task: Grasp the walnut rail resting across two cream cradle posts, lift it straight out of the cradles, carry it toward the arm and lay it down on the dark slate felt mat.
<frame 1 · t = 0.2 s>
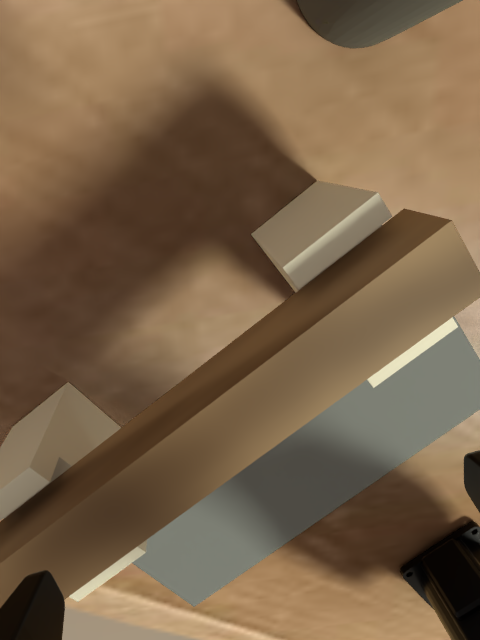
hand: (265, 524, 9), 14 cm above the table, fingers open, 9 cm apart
mat: (302, 463, 26), on the table
post 2: (85, 441, 24), on the table
post 1: (319, 258, 22), on the table
rail: (203, 405, 18), point 5 cm above the table, touching post 2, post 1
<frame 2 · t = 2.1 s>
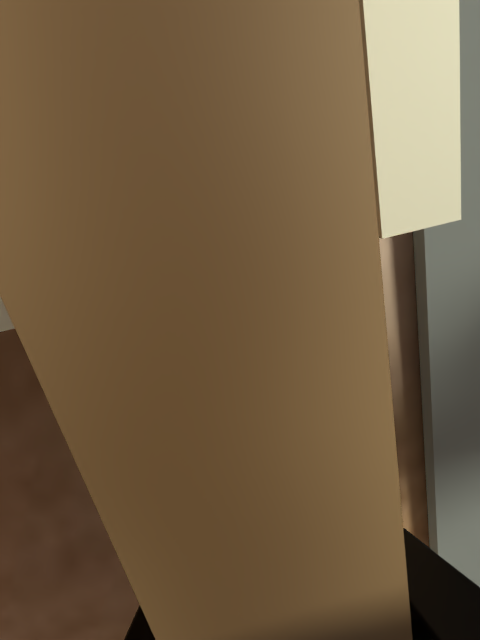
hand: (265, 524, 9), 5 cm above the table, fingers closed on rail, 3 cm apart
post 1: (166, 129, 10), on the table
rail: (269, 539, 9), point 5 cm above the table, touching gripper, post 2, post 1
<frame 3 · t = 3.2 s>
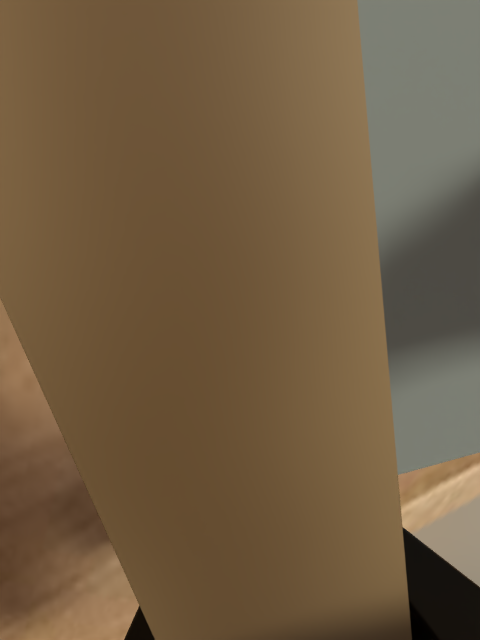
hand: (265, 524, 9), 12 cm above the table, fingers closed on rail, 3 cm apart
mat: (413, 268, 21), on the table
rail: (268, 539, 9), point 13 cm above the table, touching gripper
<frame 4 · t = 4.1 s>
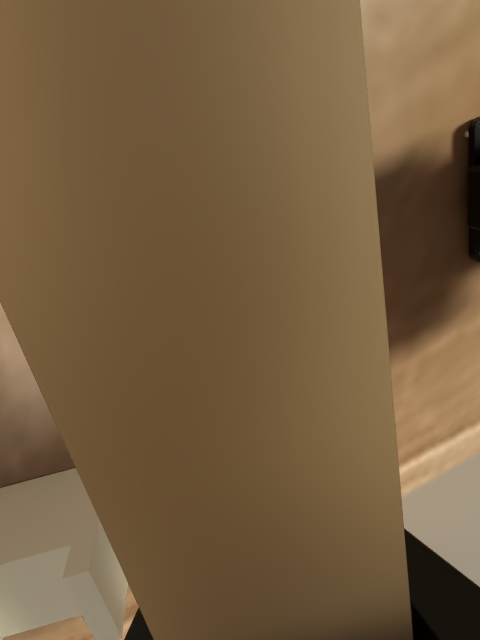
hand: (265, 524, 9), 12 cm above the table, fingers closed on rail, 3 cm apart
post 2: (64, 503, 23), on the table
rail: (269, 541, 9), point 13 cm above the table, touching gripper
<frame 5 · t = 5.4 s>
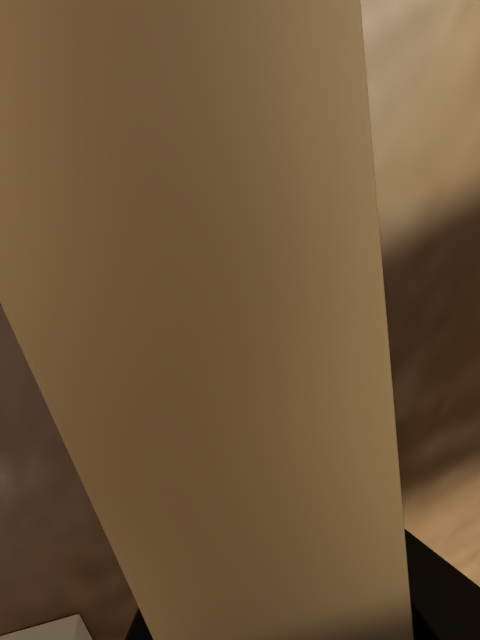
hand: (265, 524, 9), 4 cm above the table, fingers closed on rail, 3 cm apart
rail: (269, 541, 9), point 4 cm above the table, touching gripper
when the fingers open (1 cm above the table, at t = 6.6 s): rail drops 1 cm, resting on mat.
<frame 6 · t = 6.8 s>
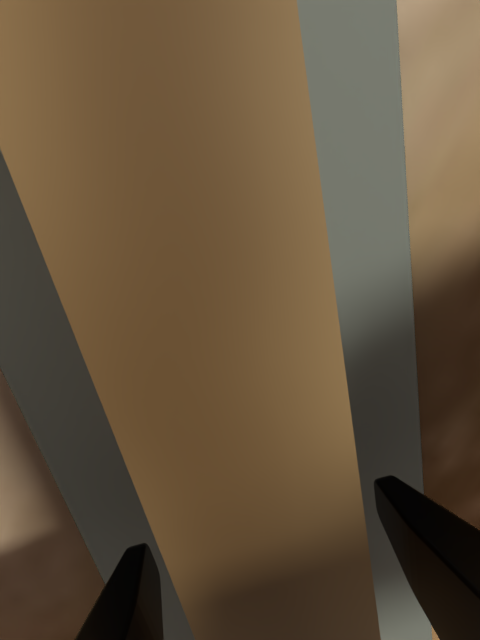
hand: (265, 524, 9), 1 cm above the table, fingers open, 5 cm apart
mat: (252, 476, 10), on the table
rail: (257, 494, 10), point 1 cm above the table, touching mat
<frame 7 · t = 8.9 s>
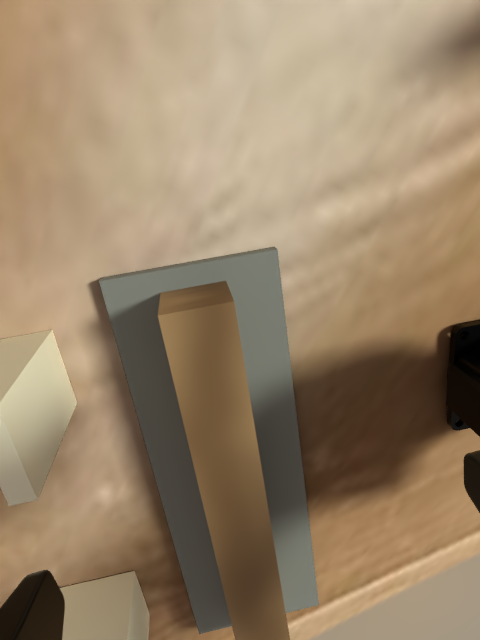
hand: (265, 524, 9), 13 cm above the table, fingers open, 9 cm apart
mat: (230, 468, 24), on the table
post 2: (90, 605, 26), on the table
rail: (231, 476, 23), point 1 cm above the table, touching mat
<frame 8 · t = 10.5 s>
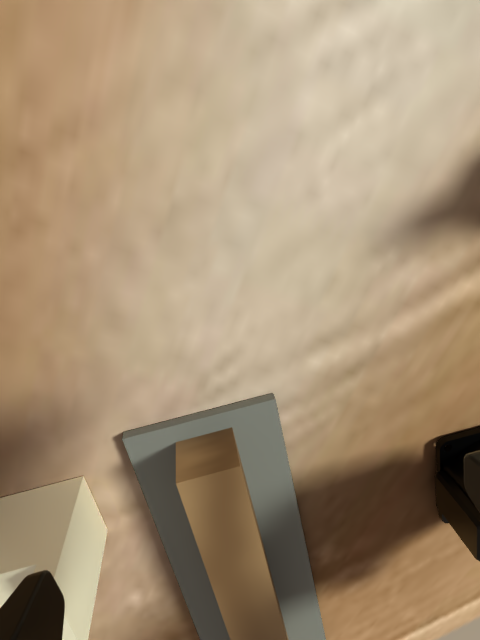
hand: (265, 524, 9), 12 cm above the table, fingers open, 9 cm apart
mat: (245, 569, 27), on the table
post 1: (37, 519, 23), on the table
rail: (246, 577, 26), point 1 cm above the table, touching mat
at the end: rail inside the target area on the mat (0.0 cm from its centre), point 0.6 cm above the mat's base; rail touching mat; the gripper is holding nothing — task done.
